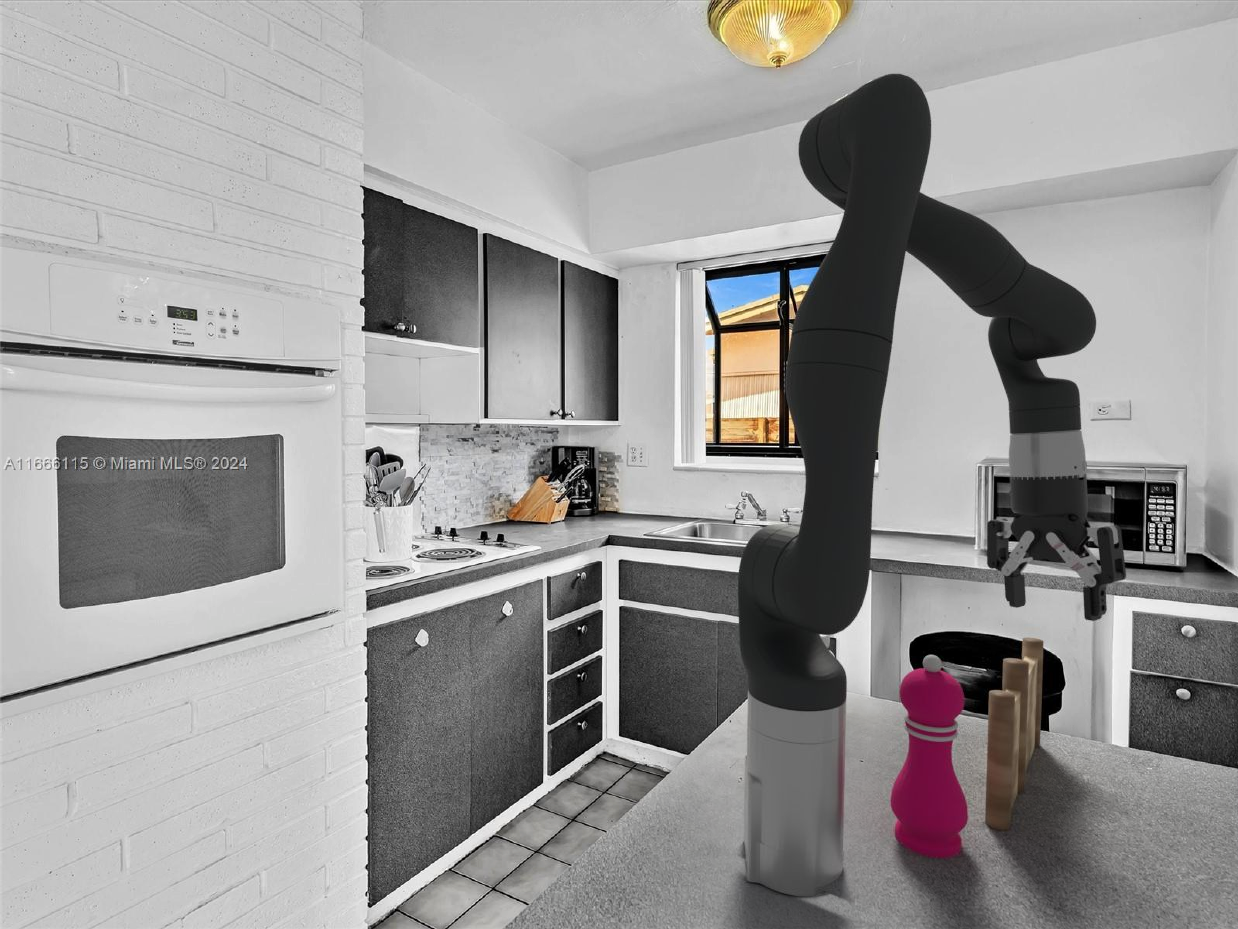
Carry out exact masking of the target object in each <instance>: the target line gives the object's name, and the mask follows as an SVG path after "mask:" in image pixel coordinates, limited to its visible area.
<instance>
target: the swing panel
mask: <svg viewBox="0 0 1238 929" xmlns="http://www.w3.org/2000/svg"><path fill="white" fill-rule="evenodd" d="M1021 644H1022V645H1021V646H1022V647H1021V648H1022V649H1021V650H1022V651H1021V660H1024V661H1027V662H1028V663H1029V679H1028V709H1027V739H1026V769H1025V773H1026V771H1027V769H1028V766H1029V763H1030V761H1031V758H1032V756H1033V753H1034V750H1035V749H1037V748H1040V746H1041V725H1042V724H1041V723H1042V721H1041V720H1042V702H1043V701H1042V698H1043V697H1042V696H1043V673H1044V672H1043V668H1044V640H1042V639H1040V638H1036V637H1022V642H1021Z"/></svg>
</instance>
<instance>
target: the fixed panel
mask: <svg viewBox="0 0 1238 929" xmlns="http://www.w3.org/2000/svg"><path fill="white" fill-rule="evenodd" d="M1002 661H1003V662H1002V690H1000V689H993V690H989V692H988V713H987V714H988V716H987V745H986V746H987V748H986V749H987V751H986V775H985V776H986V778H985V779H986V781H985V782H986V783H985V812H984V813H985V815H984V823H985V824H986V826H988V827H990V828H991V829H994V830H997V831H1000V832H1001V831H1002V832H1003V831H1004V832H1006V831H1010V830H1011V828H1012V826H1011V825H1012V810H1013V807H1014V805H1015V801H1016V799H1017V797H1018V795H1023V794H1024V793H1025V792H1026V791H1025V790H1026V772H1025V769H1026V739H1027V709H1028V679H1029V663H1028V662H1027V661H1024V660H1022V658H1013V657H1008V658H1007V657H1006V658H1003V659H1002Z"/></svg>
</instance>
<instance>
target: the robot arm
mask: <svg viewBox="0 0 1238 929" xmlns="http://www.w3.org/2000/svg"><path fill="white" fill-rule="evenodd" d="M931 141H932V116H931V110H930V106H929V103H928V99H927V97H926V95H925V92H924V91H923V88H922V87H921V86H920V84H919V83H918V82H917V81H916V80H914V79H913V78H912V77H911V76H909V75H905V74H902V73H888V74H884V75H882V76H879V77H876V78H873V79H872V80H870V81H867V82H866V83H864V84H862V85H860V86H858V87H857V88H855V89H853V90H851V91H850V92H849V93H847V94H845V95H843V96H842V97H840V98H839V99H837V100H835V101H834V102H832V103H830V104H829V105H827V106H826V107H824V108H822V109H821V110H820V111H818V112H817V113H816V114H815V115H813V116H812V117H811V118H810V119H809V120H808V121H807V123H806V124H805V125H804V127H803V128H802V131H801V133H800V136H799V141H798V159H799V164H800V167H801V169H802V172H803V175H804V176H805V178H806V180H807V181H808V182H809V183H810V185H812V187H813V188H814V189H815V190H816V191H817V192H818V193H819V194H820V195H821V196H822V197H825V199H827V200H828V201H830V202H831V203H832V204H834V205H835V206H837V207H838V208H840V209H842V210H843V215H842V218H841V222H840V225H839V228H838V231H837V233H836V235H835V238H834V240H833V242H832V244H831V246H830V247H829V250H828V252H827V253H826V255H825V256H824V258H823V261H822V262H821V263H820V266H819V267H818V270H817V271H816V273H815V275H814V277H813V278H812V280H811V281H810V284H809V286H808V288H807V290H806V291H805V293H804V295H803V298H802V300H801V302H800V304H799V307H798V308H797V311H796V313H795V316H794V320H793V324H792V329H791V335H790V342H789V348H788V355H787V363H786V368H785V369H786V370H785V378H784V379H785V380H784V381H785V382H784V383H785V384H784V386H785V396H786V402H787V403H786V404H787V406H788V411H789V414H790V417H791V421H792V424H793V428H794V432H795V434H796V437H797V440H798V443H799V446H800V449H801V453H802V457H803V464H804V472H805V487H804V490H805V491H804V497H803V498H804V500H803V505H802V506H803V507H802V515H801V520H800V525H793V524H786V523H775V524H774V523H773V524H769V525H767V526H764V527H762V528H760V529H758V530H757V531H756V532H755V533H754V534H753V535H752V536H751V537H750V539H749V540H748V542H747V543H746V545H745V547H744V550H743V552H742V555H741V558H740V561H739V567H738V575H737V607H738V608H737V610H738V611H737V612H738V613H737V614H738V632H739V633H738V634H739V637H738V638H739V639H738V640H739V651H740V657H741V660H742V664H743V666H744V669H745V672H746V674H747V675H746V676H747V715H746V716H747V720H746V721H747V722H746V724H747V728H746V732H747V734H746V755H745V757H744V794H743V795H744V799H743V801H744V802H743V813H744V814H743V842H744V843H743V845H744V853H745V858H744V862H745V872H746V873H745V874H746V880H747V881H748V882H750V883H758V884H760V885H763V886H765V887H767V888H769V889H771V890H772V891H776V892H779V893H781V894H786V895H791V896H796V897H797V896H798V897H815V896H820V895H824V894H827V893H828V891H826V890H824V889H821V888H822V887H826V886H828V885H830V884H833V883H834V882H835V881H836V880H838V879H839V878H840V876H841V875H842V873H843V870H844V858H845V857H844V856H845V855H844V840H845V839H844V837H845V833H844V832H845V830H844V829H845V790H846V788H845V786H846V785H845V783H846V776H845V775H846V735H847V734H846V732H847V731H846V727H847V689H848V688H847V685H848V683H847V682H848V681H847V680H848V678H847V674H846V670H845V668H844V666H843V665H842V664H841V662H840V661H839V660H838V659H837V657H834V656H835V655H834V656H833V654H834V653H833V652H832V651H831V650H829V647H828V648H827V647H826V646H825V644H824V642H823V640H822V639H821V636H820V634H821V635H830V636H832V635H836V634H839V633H840V632H843V631H845V629H846V628H849V626H851V624H852V623H853V622H854V621H855V620H856V618H857V617H858V614H859V613H860V611H861V609H862V608H863V604H864V602H865V598H866V594H867V591H868V587H869V580H870V579H869V578H870V569H871V552H872V528H873V527H872V524H873V523H872V522H873V521H872V520H873V498H874V497H873V496H874V480H875V469H876V462H877V455H878V454H877V452H878V443H879V432H880V427H881V426H880V425H881V417H882V412H883V410H882V409H883V406H884V405H883V404H884V400H885V399H884V398H885V393H886V388H887V383H888V382H887V381H888V376H889V371H890V370H889V369H890V361H891V354H892V349H893V343H894V342H893V341H894V340H893V339H894V329H895V319H896V312H897V306H898V298H899V294H900V288H901V287H900V286H901V282H902V274H903V269H904V266H905V265H904V263H905V259H906V252H907V253H908V255H909V254H910V255H911V256H912V257H914V258H915V259H917V260H918V261H919V262H920V263H921V264H922V265H924V266H925V267H926V268H928V270H930V271H931V272H932V273H933V274H934V275H935V276H937V277H938V278H939V279H940V280H941V281H942V282H943V283H944V284H945V285H946V286H947V287H949V289H950V290H951V291H952V292H953V293H954V294H955V295H956V296H957V297H958V298H959V299H960V300H961V301H963V302H964V304H965V305H967V307H969V308H970V309H971V310H972V311H973V312H975V313H976V314H978V315H979V316H981V317H984V318H985V317H986V318H991V320H990V322H989V325H988V330H987V331H988V332H987V336H988V337H987V339H988V346H989V348H990V352H991V355H992V358H993V361H994V362H995V366H996V368H997V371H998V374H999V377H1000V380H1001V382H1002V383H1001V384H1002V386H1003V389H1004V391H1005V395H1006V397H1007V400H1008V401H1007V403H1008V417H1009V418H1008V420H1009V421H1008V424H1009V434H1010V435H1009V446H1008V448H1009V449H1008V467H1009V469H1008V471H1009V483H1010V484H1009V485H1010V486H1009V488H1010V489H1009V490H1010V506H1011V507H1010V508H1011V511H1012V513H1013V520H1012V521H1011V520H1008V519H1007V518H1004V517H1003V518H997V519H991V520H988V522H987V523H986V525H987V527H986V529H987V531H986V532H987V537H986V538H987V539H986V542H987V543H986V544H987V546H986V547H987V549H986V550H987V551H986V564H987V567H988V568H989V569H991V570H993V569H994V570H997V571H999V572H1000V573H1002V575H1003V579H1004V580H1003V581H1004V595H1005V599H1006V602H1008V604H1009V606H1010V607H1011V608H1016V609H1017V608H1022V607H1024V606H1026V601H1027V600H1026V579H1025V574H1022V572H1023V571H1024V570H1025V568H1026V567H1027V566H1028V565H1029V564H1030V562H1032V561H1033V560H1034V561H1035V560H1036V561H1041V560H1046V561H1047V560H1048V561H1050V562H1054V563H1064V562H1065V563H1066V565H1067V566H1068V567H1069V568H1070V569H1071V570H1072V571H1074V572H1075V573H1077V575H1078V576H1079V577H1080V579H1081V580H1082V582H1083V583H1084V585H1085V586H1082V592H1083V593H1082V594H1083V610H1084V611H1083V616H1084V619H1085V620H1086V621H1091V622H1095V621H1099V620H1101V619H1102V618H1103V616H1104V615H1106V613H1107V586H1108V585H1109V584H1113V583H1116V582H1120V581H1124V580H1125V579H1126V578H1127V570H1126V564H1125V563H1126V562H1125V554H1124V545H1123V535H1122V529H1121V527H1120V526H1119V525H1117V524H1113V525H1112V524H1111V525H1105V526H1091V525H1090V523H1089V521H1088V510H1089V503H1088V502H1089V501H1088V500H1089V499H1088V498H1089V497H1088V484H1087V483H1088V482H1087V480H1088V478H1087V469H1088V468H1087V466H1088V464H1087V460H1086V459H1087V458H1086V449H1085V444H1084V440H1083V434H1082V433H1083V432H1082V414H1081V412H1082V411H1081V397H1080V389H1079V387H1078V385H1077V383H1076V382H1074V381H1073V380H1069V379H1066V378H1058V377H1057V378H1056V377H1048V376H1046V375H1045V374H1044V372H1043V371H1042V369H1041V368H1040V365H1039V363H1038V360H1042V359H1050V358H1056V357H1062V356H1068V355H1072V354H1075V353H1078V352H1081V351H1082V350H1083V349H1085V348H1086V347H1087V346H1088V345H1089V344H1090V343H1091V342H1092V340H1093V338H1094V336H1095V333H1096V330H1097V316H1096V313H1095V310H1094V308H1093V306H1092V304H1091V302H1090V301H1089V300H1088V299H1087V297H1086V296H1085V295H1084V294H1083V293H1082V292H1081V291H1079V289H1077V288H1076V287H1074V286H1072V285H1071V284H1070V283H1068V282H1066V281H1064V280H1062V279H1061V278H1058V277H1057V276H1055V275H1053V274H1051V273H1049V272H1048V271H1046V270H1044V269H1042V268H1040V267H1037V266H1035V265H1033V264H1031V263H1029V262H1028V261H1027V260H1026V258H1025V257H1024V256H1023V255H1022V254H1021V253H1020V252H1019V251H1018V250H1017V248H1015V246H1014V245H1013V244H1012V243H1011V242H1010V241H1009V240H1008V239H1007V238H1006V236H1004V235H1003V234H1002V233H1001V232H1000V231H999V230H998V229H997V228H996V227H995V226H992V225H991V224H989V223H988V222H987V221H985V220H983V219H981V218H980V217H978V216H977V215H974V214H972V213H969V212H967V211H965V210H962V209H959V208H957V207H955V206H952V205H950V204H947V203H944V202H942V201H940V200H937V199H935V198H933V197H930V196H929V195H926V194H924V193H923V192H921V188H922V184H923V181H924V176H925V172H926V168H927V164H928V158H929V154H930V148H931ZM1012 535H1013V536H1014V537H1015V539H1016V540H1017V541H1018V543H1017V544H1016V545H1015V547H1014V548H1013V549H1012V551H1011V552H1010V551H1009V547H1010V545H1009V542H1010V541H1009V539H1010V537H1011V536H1012ZM1090 538H1091V539H1092V540H1093V543H1094V545H1095V546H1097V547H1098V556H1099V563H1100V564H1098V562H1097V561H1098V560H1097V558H1096V556H1095V555H1094V553H1092V551H1091V550H1090V549H1089V547H1088V546H1087V545H1086V544H1087V543H1088V541H1089V540H1090ZM1009 552H1010V553H1009ZM830 651H831V652H832V653H833V654H832V653H831V652H830Z"/></svg>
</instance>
